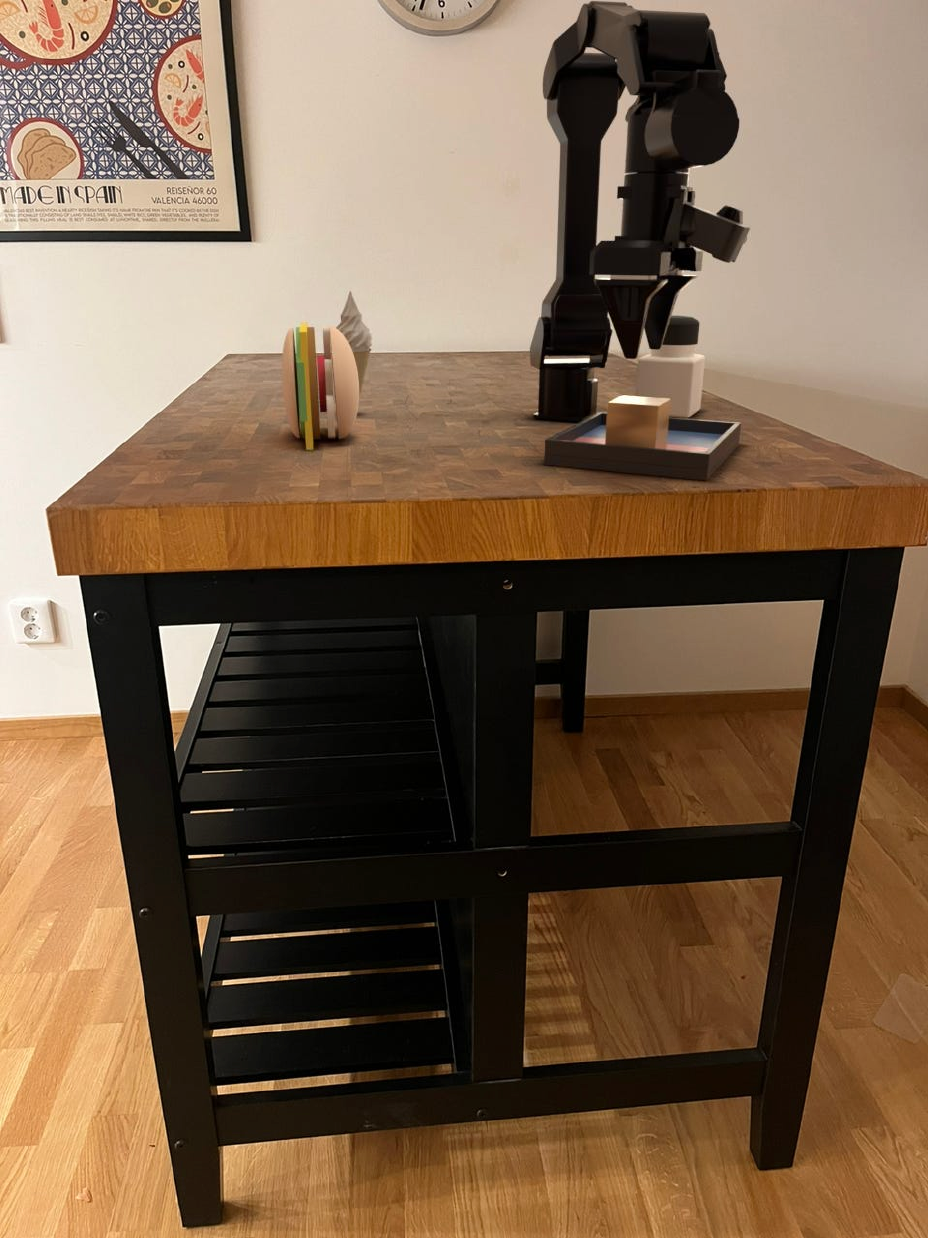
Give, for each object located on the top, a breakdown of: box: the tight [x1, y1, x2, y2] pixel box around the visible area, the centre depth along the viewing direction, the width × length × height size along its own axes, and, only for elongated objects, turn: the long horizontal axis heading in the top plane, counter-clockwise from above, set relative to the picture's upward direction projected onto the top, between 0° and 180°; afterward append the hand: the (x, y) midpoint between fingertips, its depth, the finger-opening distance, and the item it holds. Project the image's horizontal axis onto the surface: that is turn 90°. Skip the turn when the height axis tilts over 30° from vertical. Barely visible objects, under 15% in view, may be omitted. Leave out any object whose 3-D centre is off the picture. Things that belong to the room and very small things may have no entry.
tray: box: [543, 411, 742, 481], centre depth 96 cm, size 16×18×2 cm
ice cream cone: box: [335, 290, 373, 400], centre depth 116 cm, size 5×5×15 cm
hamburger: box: [281, 322, 360, 451], centre depth 102 cm, size 12×8×12 cm
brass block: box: [605, 394, 671, 449], centre depth 92 cm, size 5×5×5 cm
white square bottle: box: [635, 315, 706, 419], centre depth 119 cm, size 7×7×12 cm
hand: (643, 353), depth 89 cm, fingers open, 9 cm apart
